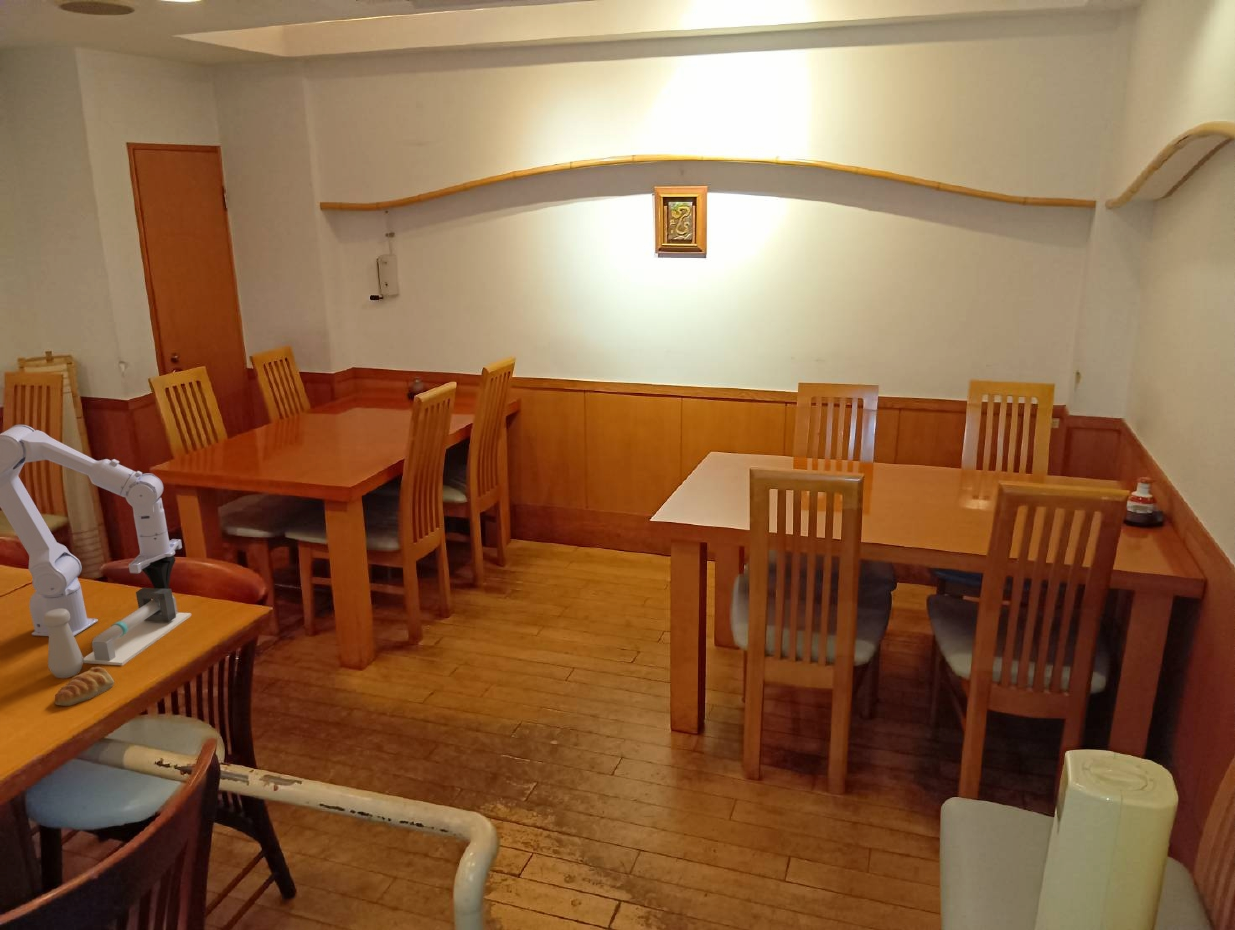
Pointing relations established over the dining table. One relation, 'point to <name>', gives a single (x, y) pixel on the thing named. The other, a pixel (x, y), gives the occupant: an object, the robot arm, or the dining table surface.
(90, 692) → the pastry
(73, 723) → the dining table surface
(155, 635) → the pipe rail
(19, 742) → the dining table surface
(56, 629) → the salt shaker
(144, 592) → the grey square collar
